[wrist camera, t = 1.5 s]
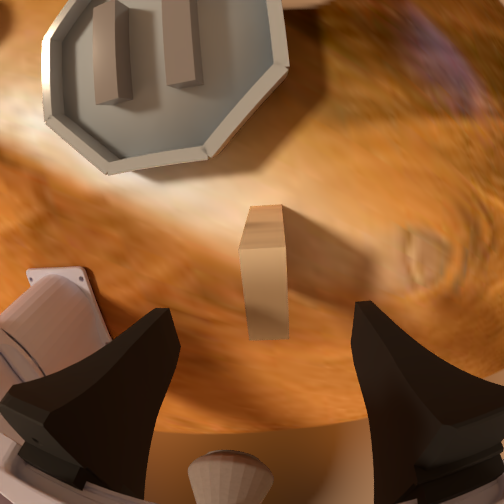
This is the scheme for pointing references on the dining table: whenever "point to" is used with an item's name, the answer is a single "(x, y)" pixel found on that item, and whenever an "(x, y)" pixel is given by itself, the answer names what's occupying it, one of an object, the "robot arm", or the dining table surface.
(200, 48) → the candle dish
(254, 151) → the dining table surface
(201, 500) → the coffee pot
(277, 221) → the pine wood chunk
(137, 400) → the robot arm
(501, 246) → the dining table surface
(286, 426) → the dining table surface
